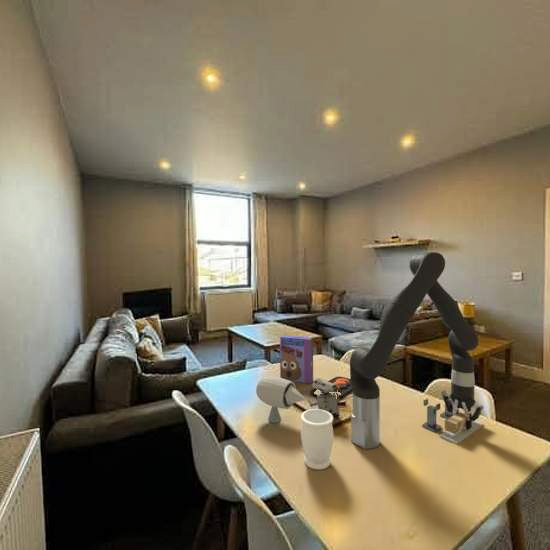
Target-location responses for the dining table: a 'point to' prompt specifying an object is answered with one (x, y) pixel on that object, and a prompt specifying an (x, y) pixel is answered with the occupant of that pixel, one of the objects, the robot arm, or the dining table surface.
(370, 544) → the dining table surface
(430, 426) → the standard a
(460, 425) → the rail
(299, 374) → the cereal box
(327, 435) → the jar
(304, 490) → the dining table surface
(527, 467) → the dining table surface
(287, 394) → the jet engine
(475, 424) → the felt pad
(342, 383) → the sushi plate
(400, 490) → the dining table surface
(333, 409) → the figurine
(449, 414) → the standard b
